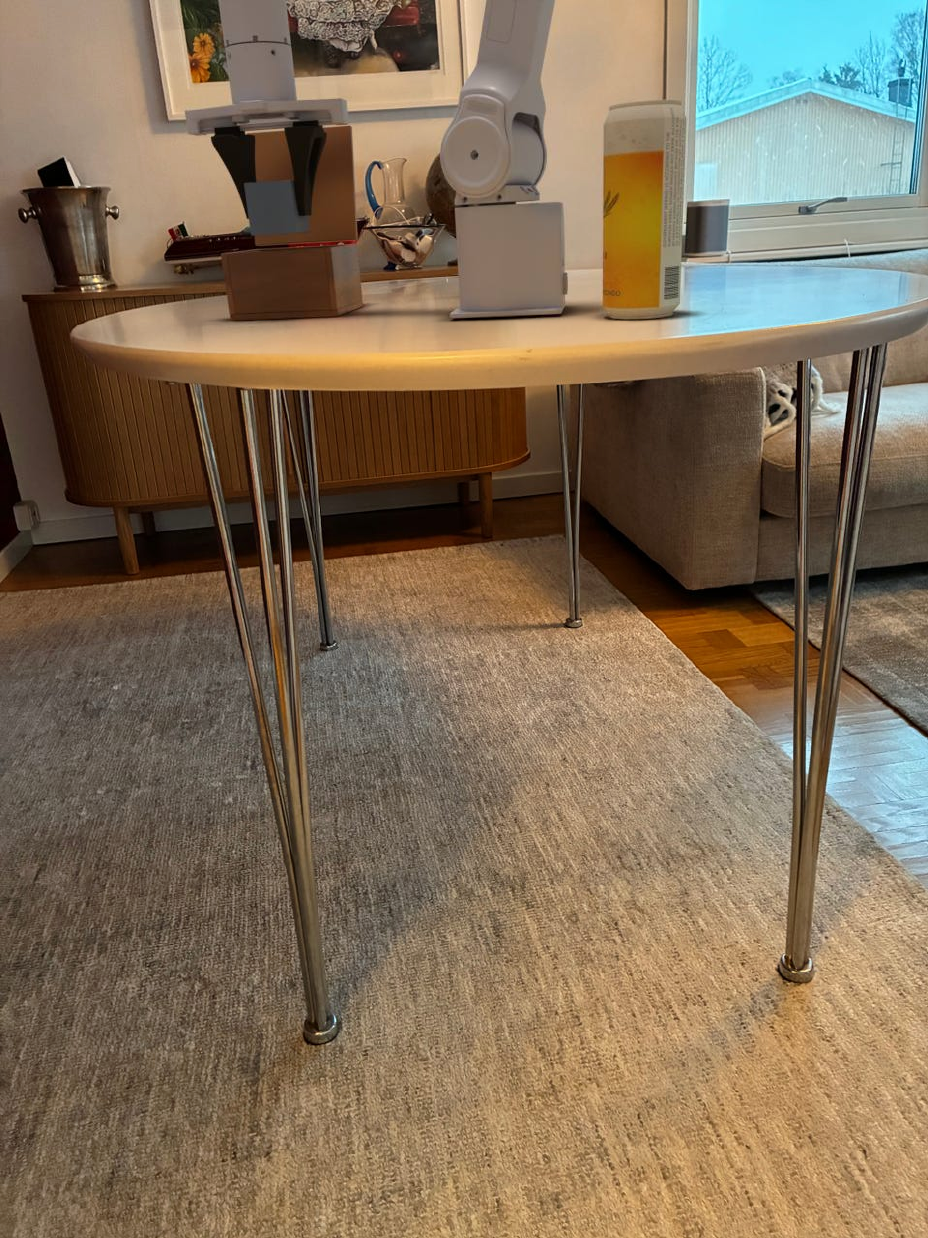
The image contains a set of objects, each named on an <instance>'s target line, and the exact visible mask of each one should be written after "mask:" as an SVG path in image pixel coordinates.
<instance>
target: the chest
mask: <svg viewBox="0 0 928 1238" xmlns="http://www.w3.org/2000/svg"><path fill="white" fill-rule="evenodd" d="M358 248H359V247H358V243H346V244H330V245H329V244H328V245H327V244H325V245H309V246H308V245H307V246H292V247H271V248H256V249H247V250H240V251H231V252H224V253H220V257H221V265H222V272H223V278H224V284H225V292H226V298H227V304H228V306H227V307H228V310H229V317H230V322H238V321H239V322H241V321H263V320H265V321H266V320H286V319H308V318H309V319H311V318H312V319H313V318H333V317H335V318H337V317H339V316H342V315H345V314H347V313H349V312H352V311H355V310H357V309H360V308H361V307H364V303H363V302H364V301H363V290H362V280H361V269H360V259H359V249H358Z"/></svg>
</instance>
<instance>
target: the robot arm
mask: <svg viewBox="0 0 928 1238" xmlns="http://www.w3.org/2000/svg"><path fill="white" fill-rule="evenodd" d="M555 3H556V0H485V7H484V13H483V18H482V19H483V20H482V26H481V33H480V39H479V43H478V45H479V46H478V51H477V59H476V64H475V66H474V68H473V70H472V71H471V73H470V75H469V76H468V78H467V79H466V81H465V83H464V84H463V86H462V88H461V89H460V91H459V96H458V97H459V98H458V102H457V103H458V104H457V107H456V108H457V109H456V112H455V114H454V117H453V119H452V121H451V122H450V124H449V125H448V127H447V129H446V130H445V132H444V134H443V135H442V136H443V137H442V140H441V143H440V147H439V148H440V149H439V162H440V167H441V170H442V174H443V176H444V179H445V180H446V182H447V183H448V185H449V186H450V188H452V189H453V190H454V191H455V196H454V206H458V207H454V217H455V218H454V219H455V238H456V255H457V274H458V275H457V276H458V294H459V307H458V308H456V309H454V310H453V311H451V312H450V313H449V318H450V319H469V318H470V319H472V318H493V317H494V318H495V317H519V316H539V315H540V316H543V315H560V314H562V313H563V310H564V309H565V306H566V295H568V293H569V275H568V272H566V262H565V261H566V258H565V255H566V254H565V253H566V251H565V250H566V249H565V248H566V247H565V242H566V241H565V211H564V203H563V202H562V201H549V202H536V201H540V199H541V198H540V197H541V196H540V195H541V193H540V192H539V190H538V189H537V186H538V184H540V182H541V180H542V178H543V176H544V174H545V172H546V168H547V163H548V149H547V144H546V141H545V134H544V124H545V117H546V113H547V107H546V102H545V101H546V100H545V95H544V92H543V86H542V73H543V68H544V61H545V58H546V52H547V46H548V41H549V35H550V30H551V25H552V19H553V13H554V9H555ZM218 7H219V13H220V14H219V15H220V21H221V29H222V30H221V31H222V36H223V44H224V51H225V58H226V67H227V73H228V80H229V82H228V83H229V90H230V95H231V104H226V105H220V106H211V107H206V108H198V109H186V110H185V109H184V116H185V122H186V129H187V134H188V135H191V136H197V137H199V136H207V135H212V134H213V135H212V136H210V141H211V142H210V143H211V144H212V146H213V148H214V149H215V151H216V152H217V154H218V156H219V157H220V159H221V160H222V162H223V164H224V166H225V168H226V169H227V171H228V173H229V175H230V178H231V179H232V182H233V184H234V187H235V188H236V191H237V193H238V196H239V198H240V201H241V204H242V207H243V210H244V214H245V217H246V220H249V216H248V209H247V201H246V194H245V187H244V183H253V182H257V181H256V168H255V135H249V134H247V133H246V132H254V131H267V130H280V129H281V130H282V129H283V131H285V136H286V140H287V144H288V148H289V153H290V158H291V163H292V169H293V175H294V185H295V198H296V204H297V209H298V214H299V216H310V215H312V196H313V188H314V182H315V177H316V172H317V168H318V164H319V161H320V157H321V154H322V151H323V148H324V146H325V143H326V138H327V133H326V132H324V129H323V126H335V125H336V126H349V123H350V122H349V112H348V101H347V100H346V99H344V98H341V97H340V98H339V97H338V98H324V99H322V98H320V99H298V98H297V96H298V95H297V87H296V79H295V70H294V61H293V60H294V59H293V52H292V51H293V50H292V43H291V33H290V26H289V25H290V24H289V23H290V22H289V14H288V5H287V0H218ZM272 119H273V120H275V119H286V120H287V119H288V120H287V121H285V120H283V121H271V122H259V123H251V122H250V120H251V121H252V120H272ZM525 202H530V203H525ZM472 205H474V206H472ZM475 205H476V206H475Z"/></svg>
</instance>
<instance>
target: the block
mask: <svg viewBox="0 0 928 1238" xmlns="http://www.w3.org/2000/svg"><path fill="white" fill-rule="evenodd" d="M244 187H245V194H246V201H247V209H248V216H249V219H248V223H249V229H250V236H254V237H255V235H273V234H291V233H304V232H310V224H309V216H299V214H298V209H297V204H296V198H295V185H294V180H284V181H268V182H253V183H244Z"/></svg>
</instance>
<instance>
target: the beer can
mask: <svg viewBox="0 0 928 1238" xmlns="http://www.w3.org/2000/svg"><path fill="white" fill-rule="evenodd" d="M682 103H683V102H682V100H679V99H652V100H649V99H648V100H639V101H638V100H637V101H629V102H623V103H617V104H613V105H610V106H609V107H608V113H607V115H606V118H605V120H604V123H603V147H602V148H603V153H602V154H603V156H602V157H603V158H602V160H603V164H602V166H603V168H602V169H603V171H602V172H603V173H602V174H603V175H602V176H603V177H602V179H603V180H602V188H603V189H602V200H603V201H602V206H603V207H602V307H603V310H605V311H606V312H607V314H608V317H609V318H610V319H614V320H616V319H617V320H651V319H660V318H667V317H670V316H673V314H674V311H675V310H676V309H677V308H678V306H679V305H680V304H681V284H682V283H681V282H682V280H681V279H682V255H683V253H682V252H683V229H684V228H683V226H684V225H683V224H684V201H685V200H684V199H685V198H684V197H685V173H686V172H685V170H686V145H687V119H688V118H687V116H686V113H685V110H684V108H683V104H682Z"/></svg>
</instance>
